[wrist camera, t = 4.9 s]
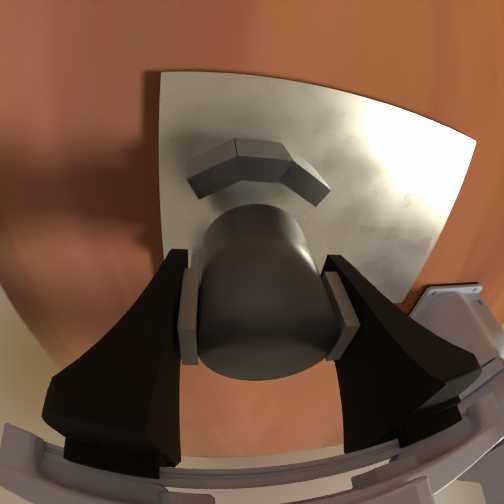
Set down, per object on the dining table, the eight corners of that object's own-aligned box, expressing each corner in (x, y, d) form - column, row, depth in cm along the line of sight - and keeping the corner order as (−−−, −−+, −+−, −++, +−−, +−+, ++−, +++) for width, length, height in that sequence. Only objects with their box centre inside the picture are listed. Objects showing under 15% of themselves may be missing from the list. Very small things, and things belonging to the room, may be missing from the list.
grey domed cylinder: (325, 208, 11) (376, 298, 7) (302, 286, 14) (328, 375, 10) (190, 200, 11) (173, 298, 7) (191, 284, 13) (185, 380, 9)
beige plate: (466, 136, 13) (502, 157, 10) (397, 294, 22) (414, 325, 19) (165, 71, 10) (146, 74, 8) (170, 294, 19) (165, 335, 16)
